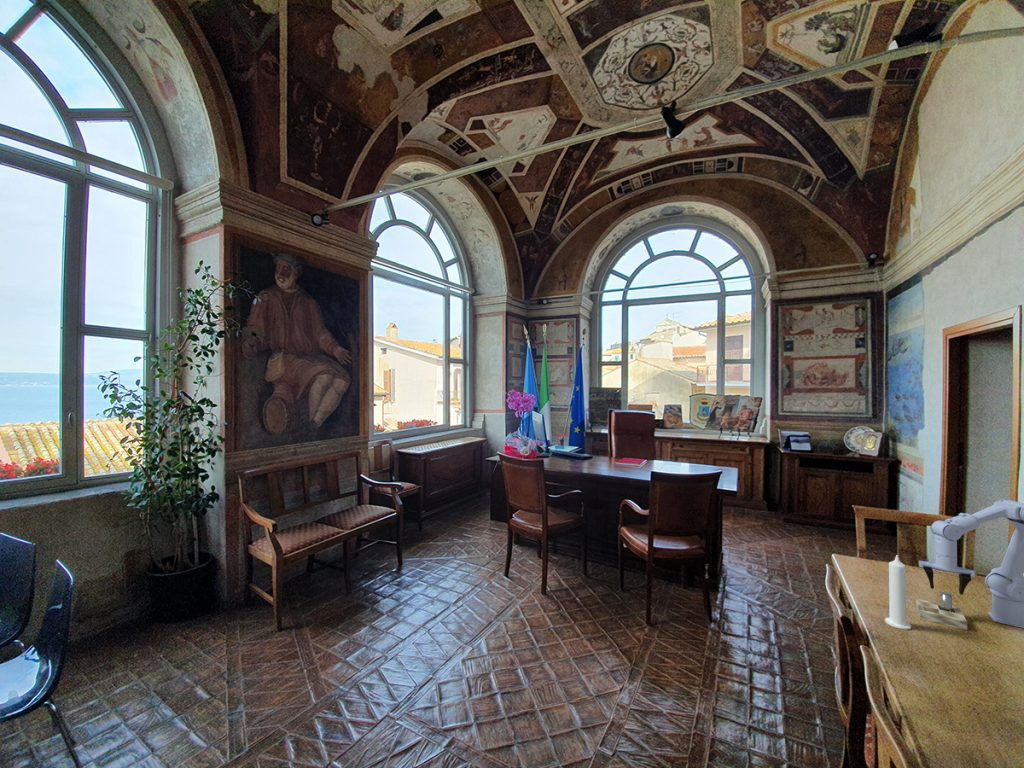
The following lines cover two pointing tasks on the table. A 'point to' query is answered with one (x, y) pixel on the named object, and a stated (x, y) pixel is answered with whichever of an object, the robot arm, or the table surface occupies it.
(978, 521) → the robot arm
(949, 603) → the pin
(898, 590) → the candle
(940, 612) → the socket block
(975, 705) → the table surface
